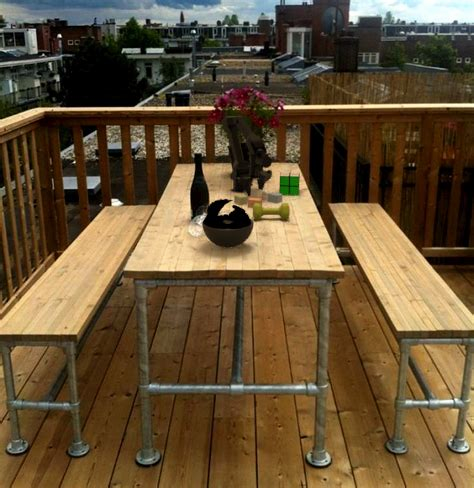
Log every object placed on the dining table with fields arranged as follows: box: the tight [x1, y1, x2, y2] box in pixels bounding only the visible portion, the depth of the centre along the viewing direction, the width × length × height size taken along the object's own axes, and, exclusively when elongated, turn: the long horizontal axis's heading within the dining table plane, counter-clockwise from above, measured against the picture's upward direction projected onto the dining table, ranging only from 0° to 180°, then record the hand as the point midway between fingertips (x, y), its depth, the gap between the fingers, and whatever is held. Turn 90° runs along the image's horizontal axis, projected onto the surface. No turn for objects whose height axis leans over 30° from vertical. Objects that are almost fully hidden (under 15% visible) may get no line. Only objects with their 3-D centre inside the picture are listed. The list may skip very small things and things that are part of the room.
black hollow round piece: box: [201, 198, 255, 249], centre depth 245 cm, size 20×20×19 cm
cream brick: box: [247, 187, 263, 198], centre depth 318 cm, size 6×4×4 cm, turn 50°
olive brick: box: [233, 193, 248, 206], centre depth 306 cm, size 6×4×4 cm, turn 27°
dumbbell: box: [252, 202, 291, 221], centre depth 282 cm, size 16×8×7 cm, turn 90°
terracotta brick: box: [247, 197, 263, 209], centre depth 300 cm, size 6×4×4 cm, turn 72°
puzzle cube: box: [278, 171, 301, 196], centre depth 324 cm, size 10×10×10 cm
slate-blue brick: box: [267, 191, 283, 204], centre depth 310 cm, size 6×4×4 cm, turn 50°
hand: (254, 194), depth 318 cm, fingers open, 8 cm apart
